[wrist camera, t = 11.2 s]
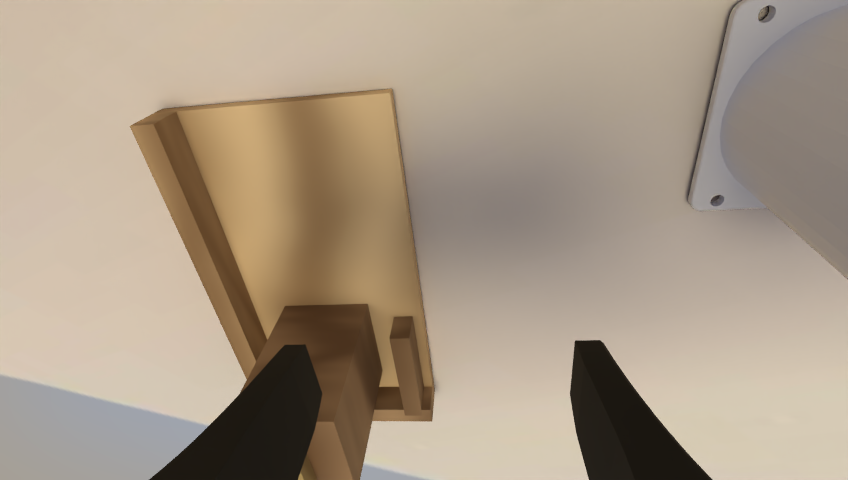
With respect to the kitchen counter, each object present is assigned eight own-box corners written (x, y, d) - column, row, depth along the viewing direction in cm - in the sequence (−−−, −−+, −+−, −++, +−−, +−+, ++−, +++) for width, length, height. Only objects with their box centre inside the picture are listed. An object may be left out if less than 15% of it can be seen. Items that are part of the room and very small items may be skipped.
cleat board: (392, 88, 18) (383, 105, 16) (434, 389, 28) (432, 421, 26) (161, 108, 20) (129, 126, 18) (278, 389, 29) (265, 419, 27)
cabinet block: (367, 303, 24) (328, 440, 17) (382, 370, 26) (353, 510, 20) (285, 305, 24) (216, 438, 18) (308, 370, 27) (255, 506, 20)
